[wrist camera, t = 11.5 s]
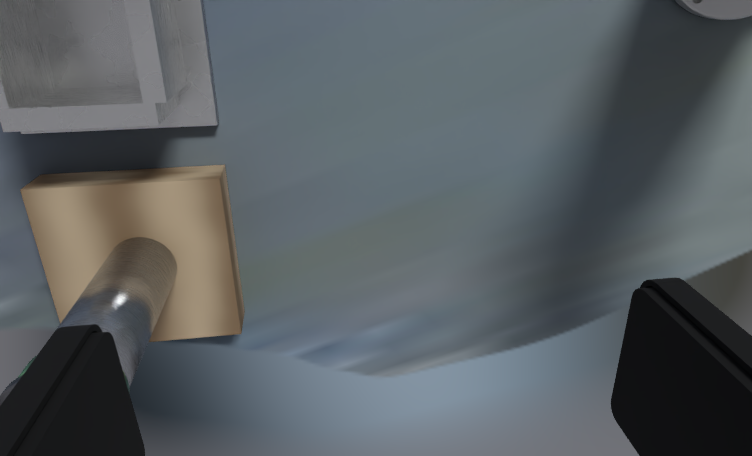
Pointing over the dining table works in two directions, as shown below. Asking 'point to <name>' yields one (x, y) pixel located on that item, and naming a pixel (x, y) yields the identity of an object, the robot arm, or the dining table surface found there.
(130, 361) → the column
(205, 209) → the tan flat square block
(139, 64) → the stand base
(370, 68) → the dining table surface
